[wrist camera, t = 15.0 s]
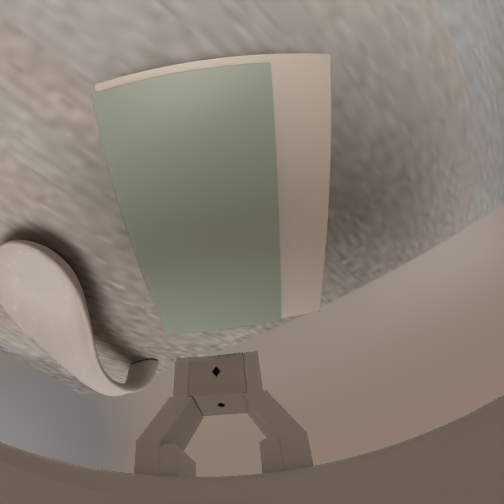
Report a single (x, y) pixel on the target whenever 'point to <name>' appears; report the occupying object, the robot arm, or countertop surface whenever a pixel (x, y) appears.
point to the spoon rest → (59, 315)
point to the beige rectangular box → (290, 164)
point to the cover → (199, 192)
